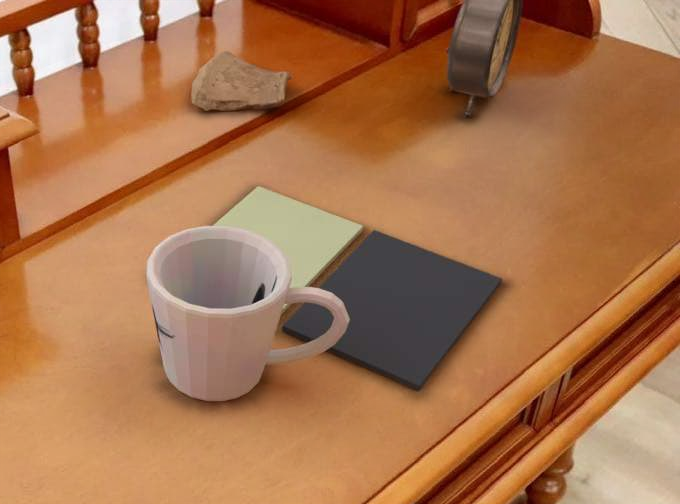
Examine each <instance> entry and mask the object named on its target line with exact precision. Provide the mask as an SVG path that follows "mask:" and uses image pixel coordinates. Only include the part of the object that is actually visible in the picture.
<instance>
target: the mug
mask: <svg viewBox="0 0 680 504" xmlns="http://www.w3.org/2000/svg"><path fill="white" fill-rule="evenodd" d="M291 280H292V276H291V267H290V262H289V260H288V259H287V257H286V256H285V254H284V252H283V251H282V249H281V248H279V247H278V246H277V245H275V244H274V243H273V242H272V241H270V240H269V239H268V238H266V237H263V236H261V235H259V234H256V233H254V232H252V231H249V230H245V229H240V228H235V227H230V226H213V225H203V226H197V227H192V228H191V227H190V228H187V229H184V230H181V231H179V232H176V233H174V234H171V235H169V236H167V237H166V238H165V239H163V240H162V241H161V242H160V243H158V245H156V246H155V247H154V248H153V250H152V252H151V254H150V256H149V257H148V259H147V261H146V282H147V286H148V287H147V288H148V291H149V292H148V294H149V298H150V303H151V308H152V314H153V319H154V323H155V328H156V334H157V339H158V344H159V349H160V350H159V351H160V356H161V359H162V366H163V371H164V373H165V374H166V377H167V379H168V381H169V382H170V383H171V385H173V386H174V387H175V388H176V389H177V390H178V391H179V392H181V393H183V394H185V395H186V396H188V397H190V398H192V399H197V400H202V401H205V402H225V401H230V400H235V399H238V398H240V397H242V396H244V395H246V394H248V393H250V392H251V391H252V390H253V388H254V387H255V386H257V384H259V382H260V380H261V377H262V375H263V373H264V370H265V367H266V365H284V364H293V363H296V362H300V361H304V360H307V359H310V358H313V357H315V356H317V355H320V354H322V353H324V352H327V349H329V348H330V347H332V346H333V345H335V343H336V342H337V341H338V340H339V339H340V338H341V337H342V335H343V334H344V333H345V332H346V329H347V326H348V323H349V321H350V318H349V316H348V313H347V311H346V308H345V306H344V303H343V302H342V300H340V299H339V298H338V297H336V296H335V295H334V294H333V293H331V292H328V291H325V290H322V289H319V287H314V286H309V287H293V288H289V287H290V284H291ZM304 302H310V303H315V304H318V305H321V306H324V307H326V308H327V309H329V310H330V311H331V312H332V314H333V316H334V320H333V323H332V326H331V328H330V329H329V330H328V331H327V332H326V333H325V334H323V335H322V336H320V337H319V338H317V339H315V340H313V341H311V342H306V343H303V344H299V345H296V346H292V347H286V348H278V349H277V348H276V349H274V348H273V349H272V348H271V347H272V344H273V341H274V338H275V334H276V332H277V328H278V325H279V322H280V319H281V316H282V315H281V312H282V309H283V306H284V304H291V303H292V304H297V303H298V304H299V303H304ZM292 304H291V305H292Z"/></svg>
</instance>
